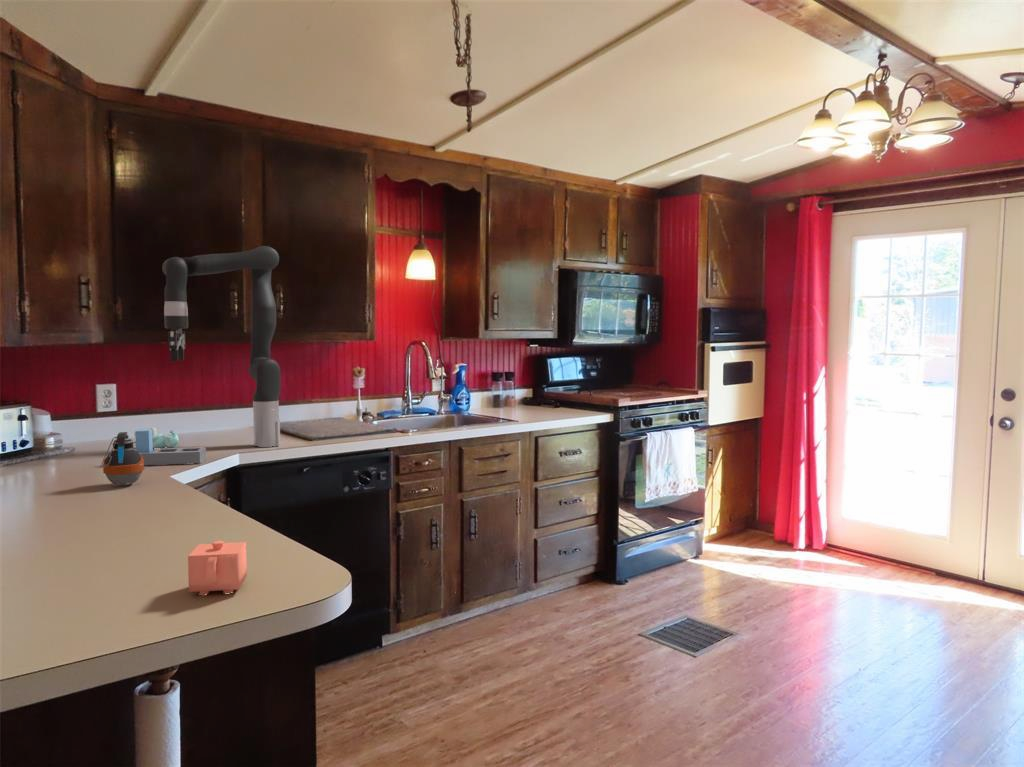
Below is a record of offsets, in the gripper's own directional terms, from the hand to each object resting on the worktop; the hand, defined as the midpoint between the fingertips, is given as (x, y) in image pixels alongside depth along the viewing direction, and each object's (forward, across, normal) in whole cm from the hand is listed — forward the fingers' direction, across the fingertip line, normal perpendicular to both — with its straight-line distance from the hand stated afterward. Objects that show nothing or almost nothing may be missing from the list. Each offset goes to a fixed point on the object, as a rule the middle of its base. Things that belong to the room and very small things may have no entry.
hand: (177, 360), depth 251 cm
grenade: (+33, -54, +3) cm, 64 cm away
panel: (+33, -18, 0) cm, 38 cm away
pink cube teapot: (+33, -145, -38) cm, 154 cm away
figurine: (+34, +20, +12) cm, 41 cm away
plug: (+33, -18, +7) cm, 38 cm away
